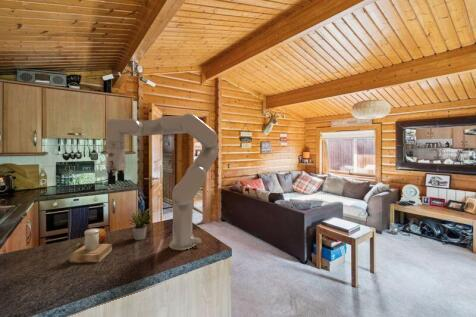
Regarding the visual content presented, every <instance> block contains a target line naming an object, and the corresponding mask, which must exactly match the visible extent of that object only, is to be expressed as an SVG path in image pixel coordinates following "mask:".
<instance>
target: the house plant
mask: <svg viewBox="0 0 476 317" xmlns="http://www.w3.org/2000/svg"><path fill="white" fill-rule="evenodd" d="M150 209H152V208H147V209H146V210H145V211H144V212H143V213H142V210H141V209H140V208H138V209H137V208H136V209H135V210H136V211H137V213H138V215H139V218H138V216H137V214H136V213H135V212H134V211H132V210H130V212H131V213H132V215H131V217H132V219H130V220H128V221H129V222H130V223H129V225H133V226H132V233H133V237H134V240H135V241H142V240H144V239H145V238H146V236H147V235H146V234H147V228H148V226H147V225H146V224H149V223H150V222H152V221H151V219H148V218H149V217H150V215H149V214H151V213H154V212H155V211H149V210H150ZM148 211H149V212H148ZM131 222H132V223H131Z"/></svg>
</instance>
